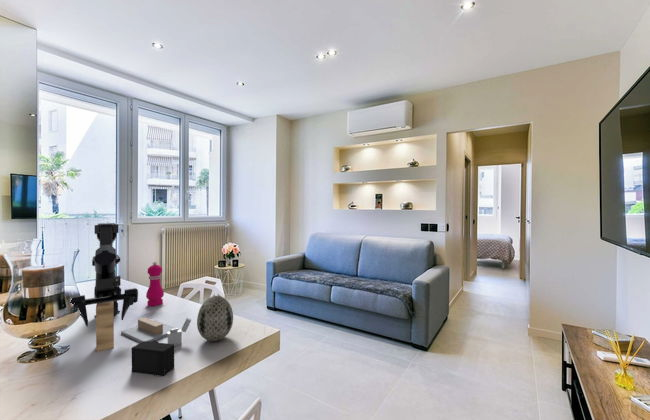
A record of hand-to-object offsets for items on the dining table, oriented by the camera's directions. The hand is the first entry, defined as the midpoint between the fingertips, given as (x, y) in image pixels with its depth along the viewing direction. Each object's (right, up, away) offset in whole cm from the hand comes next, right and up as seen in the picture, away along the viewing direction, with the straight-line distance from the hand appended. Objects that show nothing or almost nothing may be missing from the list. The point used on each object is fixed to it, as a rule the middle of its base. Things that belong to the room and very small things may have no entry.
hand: (105, 322), depth 96 cm
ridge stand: (+8, -8, +11) cm, 16 cm away
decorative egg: (+34, -8, +6) cm, 35 cm away
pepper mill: (-8, -8, +43) cm, 44 cm away
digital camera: (+24, -8, -13) cm, 28 cm away
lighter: (+23, -8, +3) cm, 24 cm away
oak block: (0, -8, 0) cm, 8 cm away
